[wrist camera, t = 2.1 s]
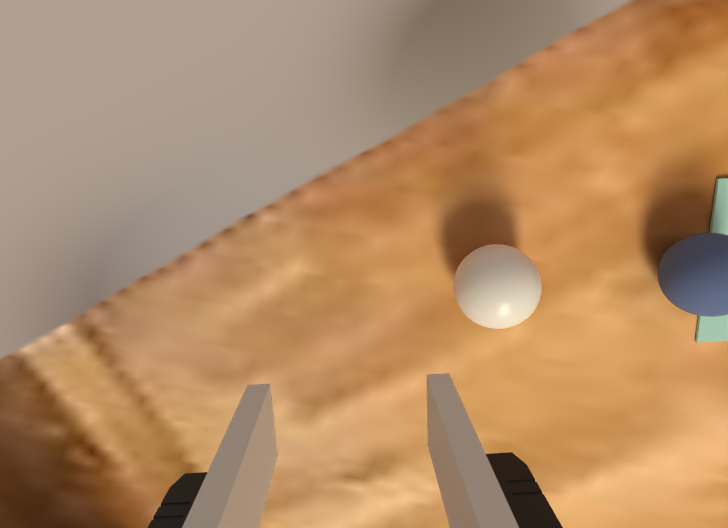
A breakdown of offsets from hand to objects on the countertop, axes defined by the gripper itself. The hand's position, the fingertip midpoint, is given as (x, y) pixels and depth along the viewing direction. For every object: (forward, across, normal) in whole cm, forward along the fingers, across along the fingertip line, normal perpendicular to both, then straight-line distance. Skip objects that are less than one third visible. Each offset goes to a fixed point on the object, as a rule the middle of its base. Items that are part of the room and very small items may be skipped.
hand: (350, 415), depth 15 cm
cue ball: (+14, +10, 0) cm, 17 cm away
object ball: (+14, +24, 0) cm, 27 cm away
